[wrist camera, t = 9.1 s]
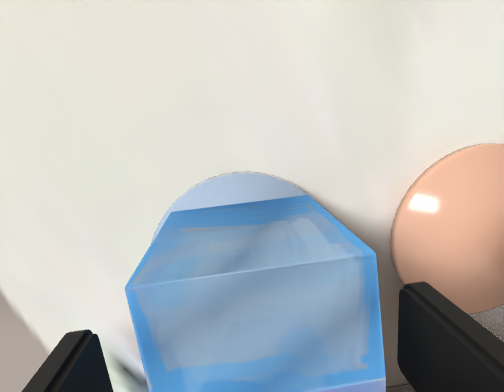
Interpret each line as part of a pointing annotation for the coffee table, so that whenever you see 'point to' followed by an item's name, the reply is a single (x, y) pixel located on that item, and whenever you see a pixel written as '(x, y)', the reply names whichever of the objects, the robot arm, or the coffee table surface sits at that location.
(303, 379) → the perfume bottle
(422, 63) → the coffee table surface
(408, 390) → the balance
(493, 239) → the peach glossy round dome
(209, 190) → the pale blue dome
